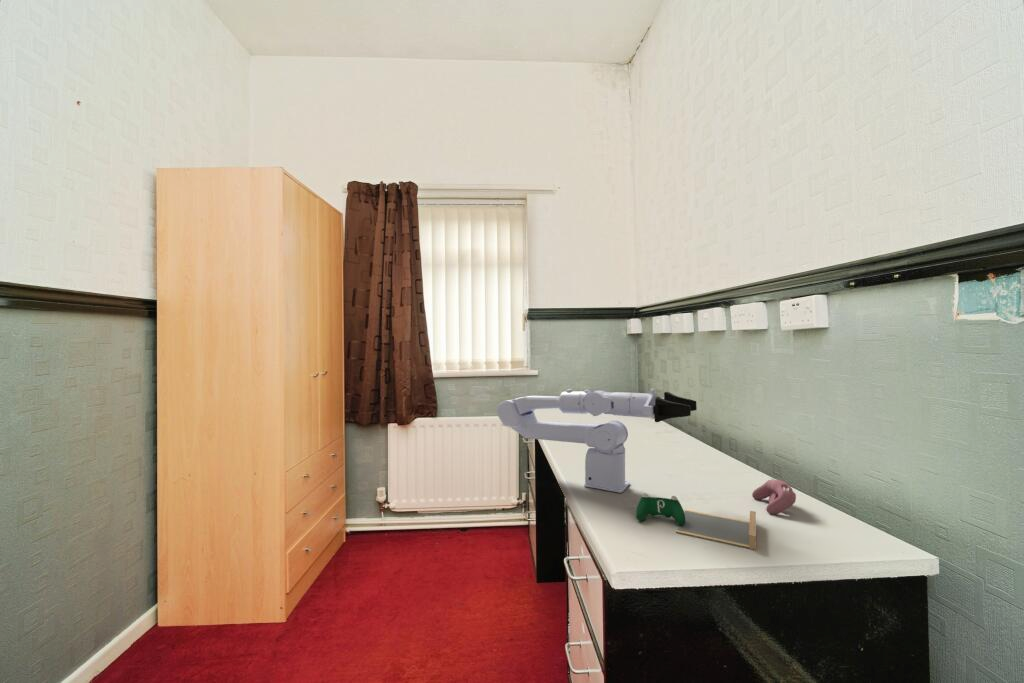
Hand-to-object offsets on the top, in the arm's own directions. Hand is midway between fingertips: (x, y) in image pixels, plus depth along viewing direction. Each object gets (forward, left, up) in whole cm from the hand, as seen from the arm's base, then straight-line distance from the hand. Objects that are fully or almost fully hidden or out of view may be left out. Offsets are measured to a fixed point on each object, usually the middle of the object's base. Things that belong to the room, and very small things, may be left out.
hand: (693, 408), depth 95 cm
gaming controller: (-5, -14, -21) cm, 26 cm away
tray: (+5, -12, -21) cm, 25 cm away
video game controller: (+16, +6, -21) cm, 27 cm away
